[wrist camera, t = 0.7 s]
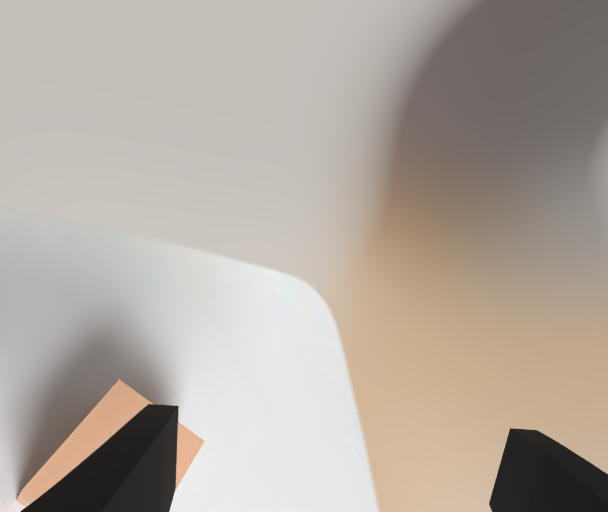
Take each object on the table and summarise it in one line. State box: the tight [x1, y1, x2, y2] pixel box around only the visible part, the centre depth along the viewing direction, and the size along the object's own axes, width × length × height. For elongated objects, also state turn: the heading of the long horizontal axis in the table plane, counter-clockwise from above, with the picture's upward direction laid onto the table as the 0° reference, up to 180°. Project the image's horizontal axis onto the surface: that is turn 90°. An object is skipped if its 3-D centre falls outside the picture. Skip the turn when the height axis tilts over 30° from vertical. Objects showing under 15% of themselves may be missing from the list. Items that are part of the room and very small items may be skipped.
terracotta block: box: [17, 379, 204, 507], centre depth 18 cm, size 5×5×5 cm
